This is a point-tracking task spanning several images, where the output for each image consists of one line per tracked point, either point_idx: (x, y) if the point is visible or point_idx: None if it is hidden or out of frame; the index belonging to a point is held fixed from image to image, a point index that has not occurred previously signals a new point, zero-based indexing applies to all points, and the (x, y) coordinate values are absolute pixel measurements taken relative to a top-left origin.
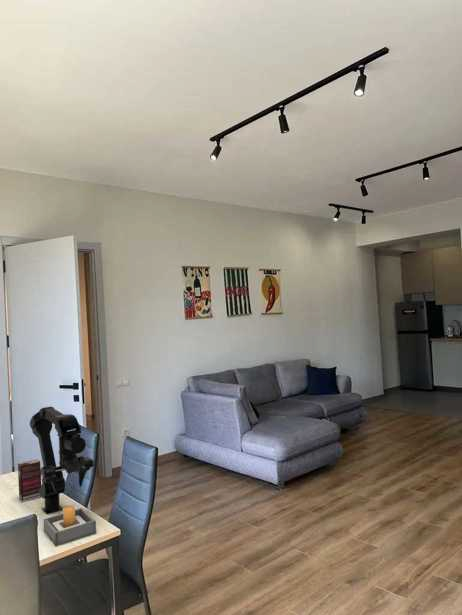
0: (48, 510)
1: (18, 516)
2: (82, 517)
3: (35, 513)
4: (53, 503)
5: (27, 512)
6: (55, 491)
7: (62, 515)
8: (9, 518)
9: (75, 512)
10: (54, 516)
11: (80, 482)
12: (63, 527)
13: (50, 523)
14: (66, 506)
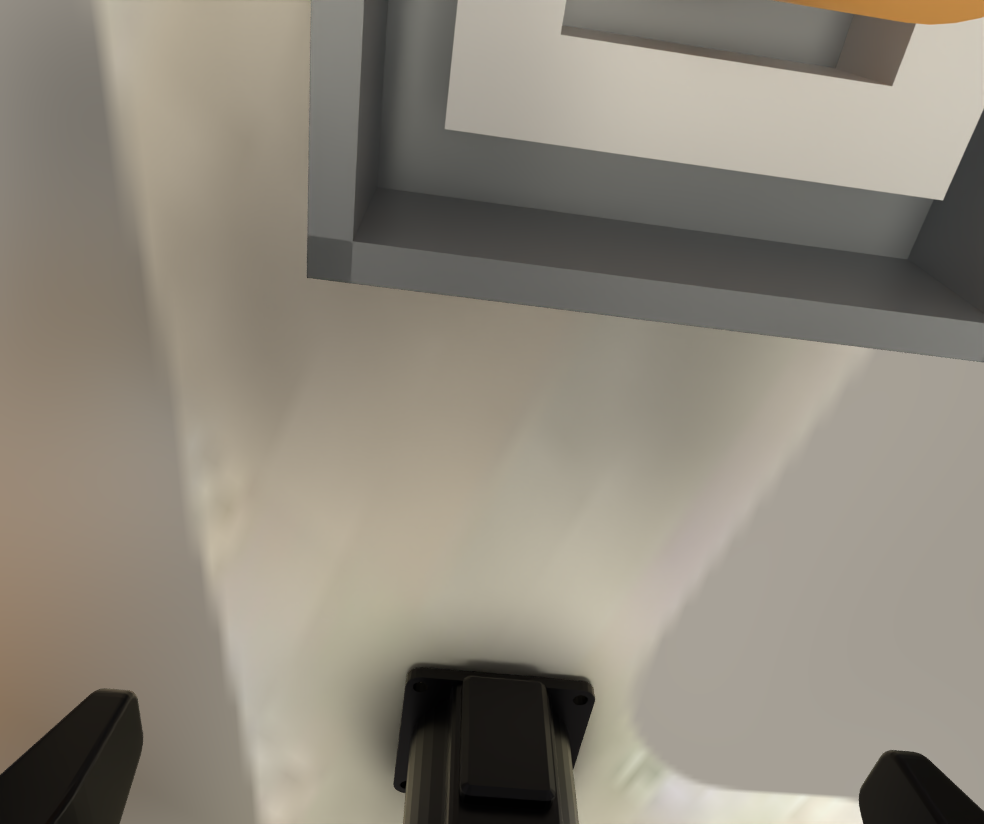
0: (557, 719)
1: (785, 798)
2: (376, 85)
3: (651, 759)
4: (524, 761)
5: (684, 816)
6: (954, 799)
7: (707, 282)
8: (857, 811)
9: (456, 244)
10: (851, 319)
11: (55, 821)
12: (763, 57)
13: (885, 279)
14: (936, 15)
